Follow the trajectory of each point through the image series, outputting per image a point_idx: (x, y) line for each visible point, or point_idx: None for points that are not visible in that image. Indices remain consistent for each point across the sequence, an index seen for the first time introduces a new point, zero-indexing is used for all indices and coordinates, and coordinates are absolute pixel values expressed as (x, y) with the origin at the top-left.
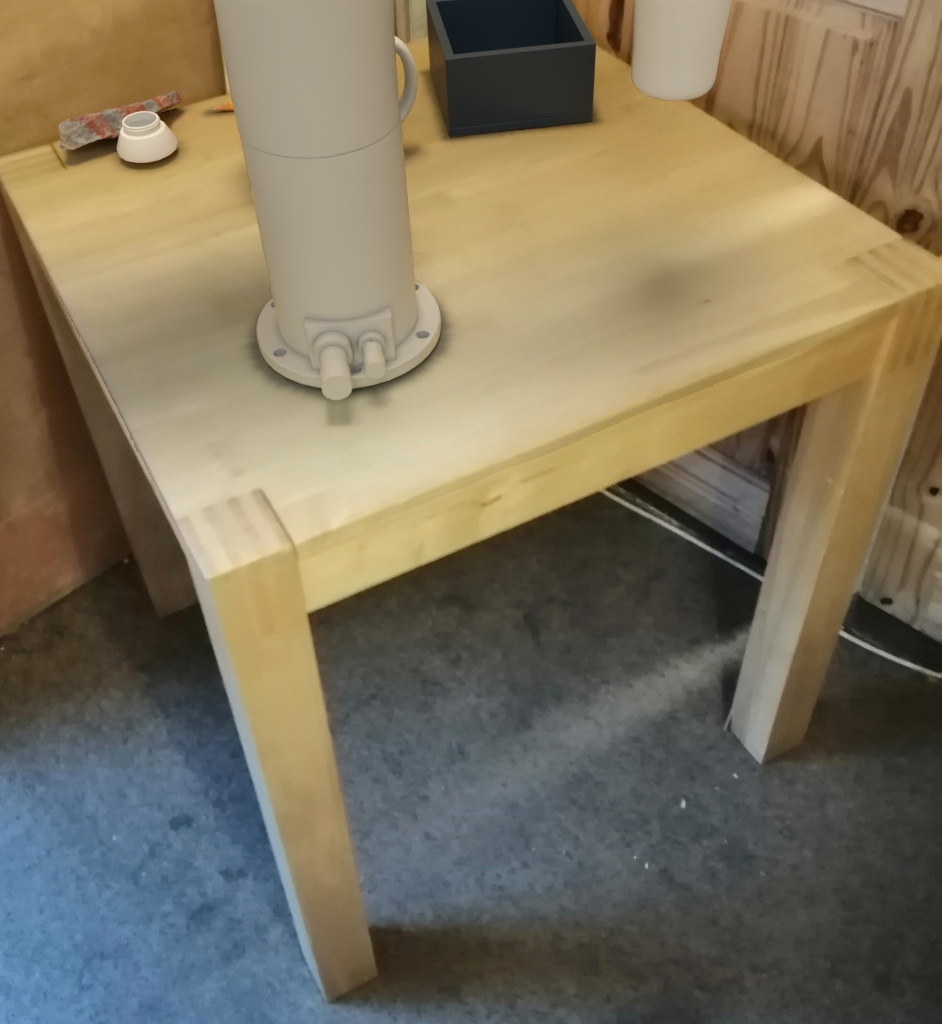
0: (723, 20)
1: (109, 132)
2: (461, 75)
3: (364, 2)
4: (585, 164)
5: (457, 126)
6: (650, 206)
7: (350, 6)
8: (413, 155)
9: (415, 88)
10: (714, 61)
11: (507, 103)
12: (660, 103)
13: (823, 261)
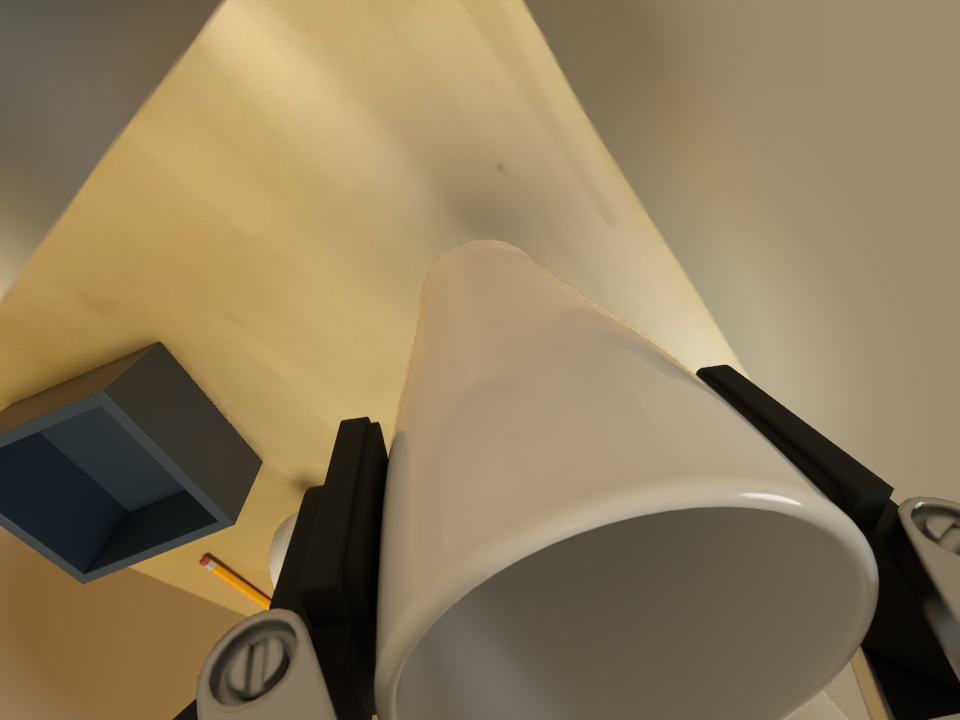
0: (541, 268)
1: None
2: (232, 498)
3: (822, 697)
4: (264, 330)
5: (254, 463)
6: (330, 248)
7: (832, 702)
8: (309, 479)
9: (291, 526)
10: (521, 254)
11: (213, 437)
12: (61, 268)
13: (395, 14)
